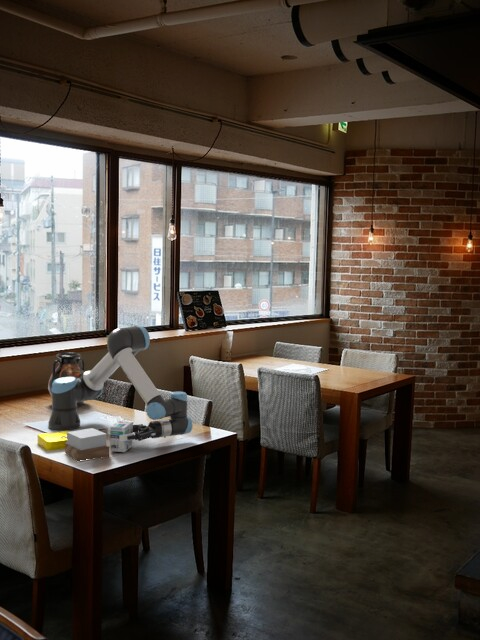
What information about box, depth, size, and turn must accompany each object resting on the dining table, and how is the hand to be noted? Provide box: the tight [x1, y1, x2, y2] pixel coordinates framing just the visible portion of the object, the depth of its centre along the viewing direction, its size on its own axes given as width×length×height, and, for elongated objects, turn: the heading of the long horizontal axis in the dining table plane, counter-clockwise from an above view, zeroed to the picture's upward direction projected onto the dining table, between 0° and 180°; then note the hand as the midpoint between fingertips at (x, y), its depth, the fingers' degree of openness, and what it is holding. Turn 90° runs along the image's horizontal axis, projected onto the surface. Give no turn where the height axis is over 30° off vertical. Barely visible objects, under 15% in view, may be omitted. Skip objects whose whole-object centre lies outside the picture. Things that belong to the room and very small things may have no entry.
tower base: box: [64, 443, 110, 462], centre depth 305 cm, size 14×14×5 cm
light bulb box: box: [109, 420, 134, 453], centre depth 312 cm, size 11×7×11 cm, turn 169°
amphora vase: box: [47, 352, 85, 407], centre depth 396 cm, size 22×22×28 cm
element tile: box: [37, 430, 71, 452], centre depth 319 cm, size 15×15×5 cm
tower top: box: [67, 427, 108, 450], centre depth 304 cm, size 12×12×5 cm
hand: (113, 434), depth 310 cm, fingers closed on light bulb box, 12 cm apart
